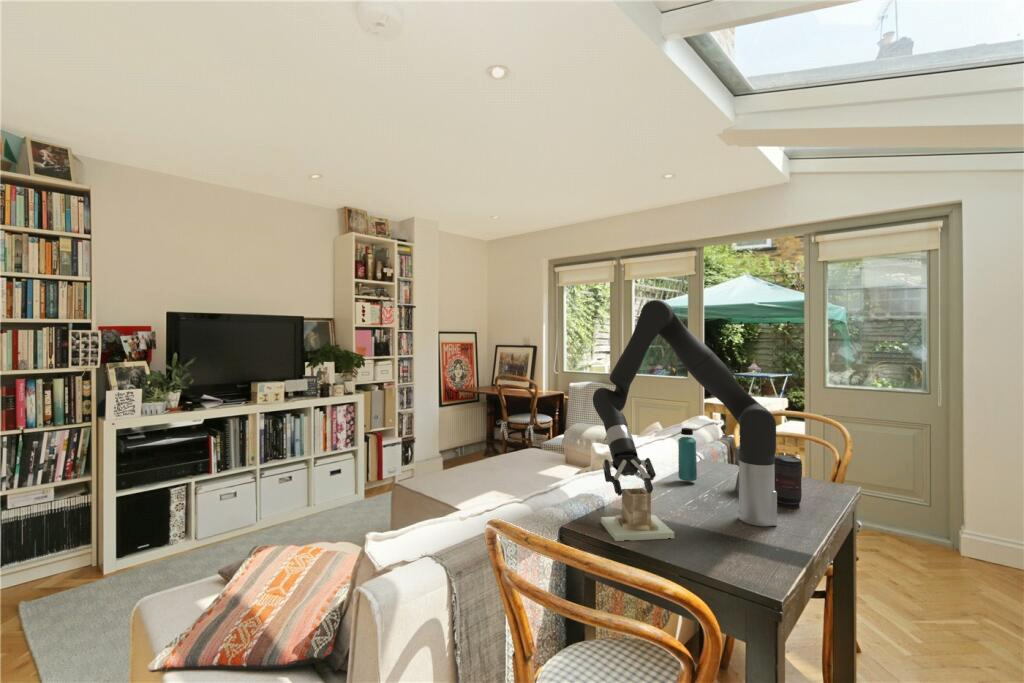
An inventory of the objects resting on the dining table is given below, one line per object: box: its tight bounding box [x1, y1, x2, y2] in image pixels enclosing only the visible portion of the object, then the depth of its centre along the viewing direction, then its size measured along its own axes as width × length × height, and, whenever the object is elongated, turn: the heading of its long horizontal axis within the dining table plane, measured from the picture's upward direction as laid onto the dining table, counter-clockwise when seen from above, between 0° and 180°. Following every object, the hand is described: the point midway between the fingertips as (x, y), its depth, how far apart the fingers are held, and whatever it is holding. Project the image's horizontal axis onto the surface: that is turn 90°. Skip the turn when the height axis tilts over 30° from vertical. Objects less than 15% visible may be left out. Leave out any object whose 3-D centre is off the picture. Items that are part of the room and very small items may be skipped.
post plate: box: [600, 514, 675, 542], centre depth 132 cm, size 16×13×8 cm
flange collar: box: [614, 487, 658, 532], centre depth 132 cm, size 9×9×9 cm
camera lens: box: [775, 454, 803, 509], centre depth 152 cm, size 8×8×15 cm
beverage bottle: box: [677, 427, 698, 482], centre depth 176 cm, size 6×7×20 cm
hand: (635, 493), depth 133 cm, fingers open, 8 cm apart
